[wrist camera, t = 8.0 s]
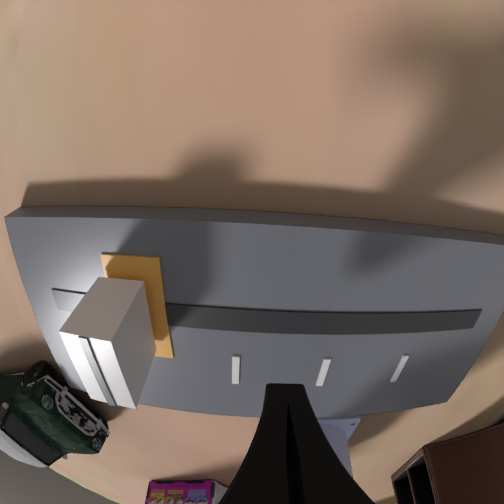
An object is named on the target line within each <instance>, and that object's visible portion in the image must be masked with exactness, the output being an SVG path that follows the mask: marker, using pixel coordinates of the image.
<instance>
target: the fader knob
mask: <svg viewBox="0 0 504 504" xmlns="http://www.w3.org/2000/svg"><path fill="white" fill-rule="evenodd" d="M59 333H60V335H61V338H62V340H63V342H64V345H65V347H66V349H67V352H68V354H69V356H70V358H71V360H72V362H73V364H74V367H75V369H76V371H77V373H78V375H79V377H80V379H81V381H82V383H83V385H84V386H85V388H86V390H87V392H88V394H89V396H90V398H91V399H94V400H98V401H102V402H106V403H108V405H111V406H115V407H116V405H119V406H123V407H128V408H133V409H137V405H138V402H139V399H140V396H141V393H142V390H143V388H144V385H145V382H146V379H147V376H148V373H149V370H150V367H151V364H152V362H153V359H154V356H155V353H156V350H157V348H156V344H155V339H154V334H153V329H152V324H151V319H150V314H149V308H148V303H147V297H146V291H145V285H144V281H137V280H126V279H116V278H106V277H98V278H97V280H96V281H95V282H94V284H93V285H92V286H91V287H90V289H89V290H88V291H87V293H86V294H85V295H84V297H83V298H82V299H81V301H80V302H79V304H78V305H77V306H76V308H75V309H74V310H73V312H72V313H71V315H70V316H69V317H68V319H67V320H66V322H65V323H64V324H63V326H62V327H61V329H60V330H59Z"/></svg>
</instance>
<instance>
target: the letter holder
mask: <svg viewBox="0 0 504 504" xmlns="http://www.w3.org/2000/svg"><path fill="white" fill-rule="evenodd" d="M391 479H392V485H393V489H394V493H395V497H396V503H397V504H504V422H501V423H499V424H496V425H493V426H491V427H488V428H485V429H482V430H479V431H476V432H473V433H469V434H466V435H463V436H460V437H456V438H453V439H449V440H445V441H441V442H438V443H433V444H429V445H425V446H423V447H422V448H421V449H420V450H419V451H418V452H417V453H416V454H415V455H414V456H413V457H412V458H410V459H409V460H408V461H407V462H406V463H405V464H404V465H403V466H402V467H401V468H400V469H399V470H398V471H396V472H395V473H394V474H393V475H392V476H391Z"/></svg>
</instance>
